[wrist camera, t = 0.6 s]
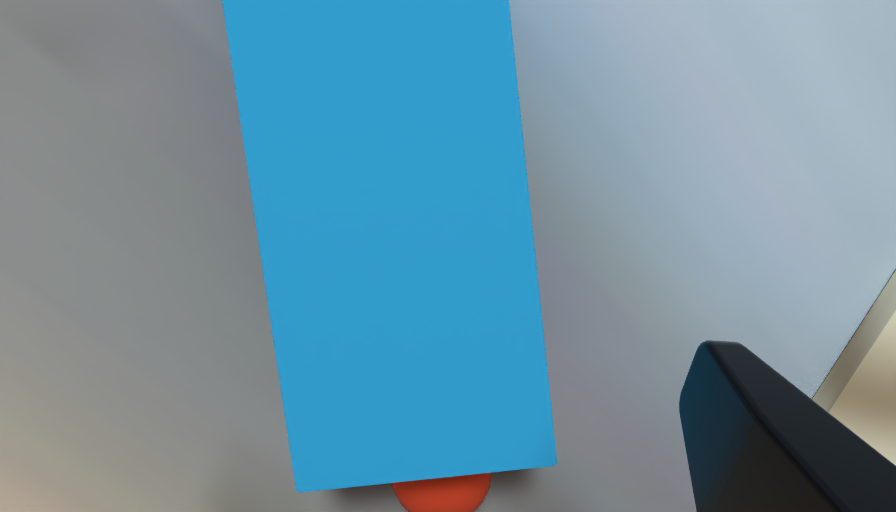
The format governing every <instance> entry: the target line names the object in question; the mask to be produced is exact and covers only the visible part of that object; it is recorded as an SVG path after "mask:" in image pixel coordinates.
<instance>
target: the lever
mask: <svg viewBox="0 0 896 512" xmlns="http://www.w3.org/2000/svg"><path fill="white" fill-rule="evenodd" d="M222 3H223V9H224V16H225V23H226V29H227V36H228V42H229V49H230V56H231V62H232V69H233V76H234V82H235V89H236V95H237V102H238V109H239V115H240V122H241V128H242V135H243V142H244V148H245V155H246V162H247V168H248V175H249V181H250V188H251V195H252V201H253V208H254V215H255V221H256V228H257V234H258V241H259V248H260V254H261V261H262V267H263V274H264V281H265V287H266V294H267V301H268V307H269V314H270V320H271V327H272V334H273V340H274V347H275V354H276V360H277V367H278V373H279V380H280V387H281V393H282V400H283V406H284V413H285V420H286V426H287V433H288V440H289V446H290V453H291V459H292V466H293V473H294V479H295V486H296V490H297V491H298V492H309V491H319V490H329V489H338V488H348V487H357V486H367V485H376V484H386V483H392V487H393V489H394V491H395V493H396V496H397V497H398V499H399V501H400V503H401V504H402V505H403V506H404V507H405V508H406V509H407V510H408V511H409V512H473V511H475V510H476V509H477V508H478V506H479V505H480V504H481V503H482V502H483V500H484V498H485V496H486V494H487V492H488V490H489V488H490V481H491V472H501V471H510V470H520V469H529V468H539V467H548V466H554V465H555V464H556V463H557V458H556V448H555V439H554V429H553V419H552V410H551V400H550V391H549V381H548V372H547V362H546V353H545V343H544V334H543V324H542V315H541V305H540V296H539V286H538V277H537V267H536V258H535V248H534V239H533V229H532V220H531V210H530V201H529V191H528V181H527V172H526V162H525V153H524V143H523V134H522V124H521V115H520V105H519V96H518V86H517V77H516V67H515V58H514V48H513V39H512V29H511V20H510V10H509V1H508V0H222Z"/></svg>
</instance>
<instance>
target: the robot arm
mask: <svg viewBox="0 0 896 512" xmlns="http://www.w3.org/2000/svg"><path fill="white" fill-rule="evenodd" d="M679 412H680V418H681V424H682V430H683V436H684V441H685V447H686V453H687V458H688V464H689V470H690V476H691V481H692V487H693V493H694V498H695V504H696V510H697V512H896V465H894V464H893V463H892V462H890V461H889V460H888V459H887V458H885V457H884V456H883V455H882V454H880V453H879V452H878V451H877V450H875V449H874V448H873V447H871V446H870V445H869V444H868V443H866V442H865V441H864V440H863V439H861V438H860V437H859V436H857V435H856V434H855V433H854V432H852V431H851V430H850V429H849V428H847V427H846V426H845V425H844V424H842V423H841V422H840V421H838V420H837V419H836V418H835V417H833V416H832V415H831V414H830V413H828V412H827V411H826V410H825V409H823V408H822V407H821V406H819V405H818V404H817V403H816V402H814V401H813V400H812V399H811V398H809V397H808V396H807V395H806V394H804V393H803V392H802V391H800V390H799V389H798V388H797V387H795V386H794V385H793V384H792V383H790V382H789V381H788V380H787V379H785V378H784V377H783V376H781V375H780V374H779V373H778V372H776V371H775V370H774V369H773V368H771V367H770V366H769V365H768V364H766V363H765V362H764V361H762V360H761V359H760V358H759V357H757V356H756V355H755V354H754V353H752V352H751V351H750V350H748V349H747V348H746V347H745V346H743V345H742V344H740V343H737V342H726V341H710V340H709V341H705V342H703V343H701V344H700V346H699V347H698V349H697V351H696V353H695V356H694V359H693V361H692V364H691V367H690V369H689V372H688V375H687V377H686V380H685V383H684V386H683V388H682V391H681V395H680V402H679Z"/></svg>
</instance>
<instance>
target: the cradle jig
mask: <svg viewBox="0 0 896 512" xmlns="http://www.w3.org/2000/svg"><path fill="white" fill-rule="evenodd" d="M812 400H813V401H814V402H816V403H817V404H818V405H819V406H821V407H822V408H823V409H825V410H826V411H827V412H828V413H830V414H831V415H832V416H833V417H835V418H836V419H837V420H838V421H840V422H841V423H842V424H844V425H845V426H846V427H847V428H849V429H850V430H851V431H852V432H854V433H855V434H856V435H857V436H859V437H860V438H861V439H863V440H864V441H865V442H866V443H868V444H869V445H870V446H871V447H873V448H874V449H875V450H877V451H878V452H879V453H880V454H882V455H883V456H884V457H885V458H887V459H888V460H889V461H890V462H892V463H893V464H894V465H896V270H895V272H894V274H893V275H892V277H891V278H890V280H889V281H888V283H887V284H886V286H885V287H884V289H883V291H882V292H881V294H880V295H879V297H878V298H877V300H876V301H875V303H874V304H873V306H872V308H871V309H870V311H869V312H868V314H867V315H866V317H865V318H864V320H863V321H862V323H861V325H860V326H859V328H858V329H857V331H856V332H855V334H854V335H853V337H852V339H851V340H850V342H849V343H848V345H847V346H846V348H845V349H844V351H843V352H842V354H841V356H840V357H839V359H838V360H837V362H836V363H835V365H834V366H833V368H832V369H831V371H830V373H829V374H828V376H827V377H826V379H825V380H824V382H823V383H822V385H821V386H820V388H819V390H818V391H817V393H816V394H815V396H814V397H813V399H812Z"/></svg>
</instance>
